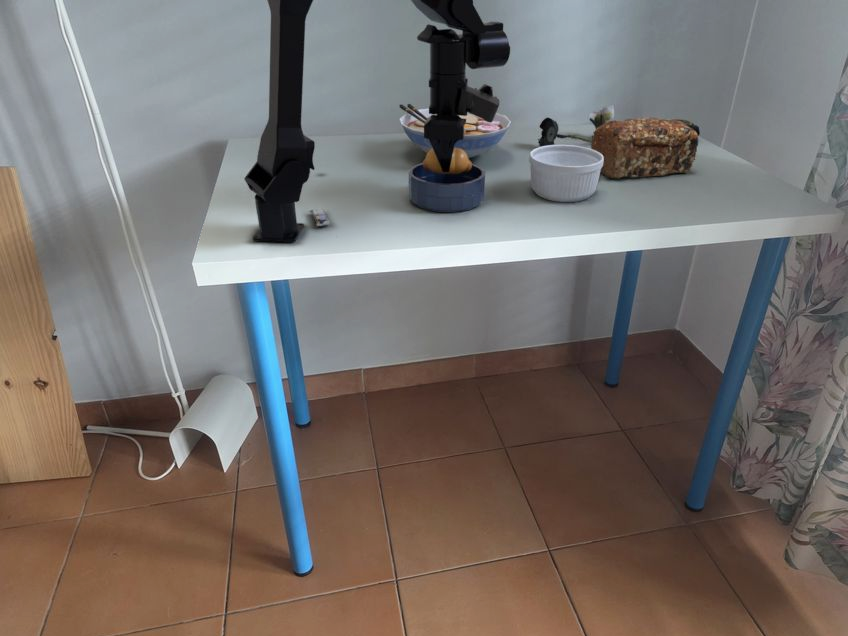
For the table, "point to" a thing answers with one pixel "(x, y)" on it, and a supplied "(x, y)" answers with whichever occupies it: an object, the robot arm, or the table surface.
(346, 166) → the table surface
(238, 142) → the table surface
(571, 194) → the ramekin
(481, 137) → the ramen bowl
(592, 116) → the artificial flower
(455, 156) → the croissant
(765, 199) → the table surface
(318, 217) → the granola bar
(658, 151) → the bread
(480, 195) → the bowl
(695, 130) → the tape measure
